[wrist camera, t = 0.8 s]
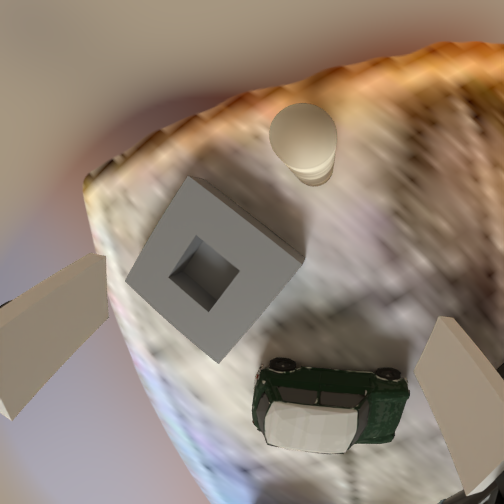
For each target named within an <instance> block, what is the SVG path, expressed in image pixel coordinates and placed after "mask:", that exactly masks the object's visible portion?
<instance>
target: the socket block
mask: <svg viewBox="0 0 504 504" xmlns="http://www.w3.org/2000/svg"><path fill="white" fill-rule="evenodd" d="M304 260H305V257H303V256H302V255H301V254H300V253H298V252H297V251H296V250H295V249H293V248H292V247H291V246H290V245H288V244H287V243H286V242H285V241H283V240H282V239H281V238H279V237H278V236H277V235H276V234H274V233H273V232H272V231H271V230H269V229H268V228H267V227H265V226H264V225H263V224H262V223H260V222H259V221H258V220H256V219H255V218H254V217H253V216H251V215H250V214H249V213H247V212H246V211H245V210H244V209H242V208H241V207H240V206H238V205H237V204H236V203H234V202H233V201H232V200H231V199H229V198H228V197H227V196H225V195H224V194H223V193H221V192H220V191H219V190H217V189H216V188H215V187H213V186H212V185H211V184H209V183H208V182H207V181H205V180H204V179H201V178H197V177H192V176H188V177H187V178H186V180H185V181H184V183H183V184H182V186H181V187H180V189H179V190H178V192H177V193H176V195H175V197H174V198H173V200H172V201H171V203H170V205H169V206H168V208H167V209H166V211H165V213H164V214H163V216H162V217H161V219H160V221H159V222H158V224H157V226H156V227H155V229H154V231H153V232H152V234H151V236H150V237H149V239H148V241H147V242H146V244H145V246H144V248H143V249H142V251H141V253H140V255H139V256H138V258H137V260H136V262H135V263H134V265H133V267H132V269H131V271H130V272H129V274H128V276H127V278H126V280H125V282H126V283H127V284H129V285H130V286H131V287H132V288H133V289H134V290H135V291H136V292H137V293H138V294H139V295H140V296H141V297H142V298H143V299H144V300H145V301H146V302H147V303H148V304H150V305H151V306H152V307H153V308H154V309H155V310H156V311H157V312H158V313H159V314H160V315H161V316H163V317H164V318H165V319H166V320H167V321H168V322H169V323H170V324H172V325H173V326H174V327H175V328H176V329H177V330H178V331H180V332H181V333H182V334H183V335H184V336H185V337H186V338H188V339H189V340H190V341H191V342H192V343H194V344H195V345H196V346H197V347H198V348H199V349H201V350H202V351H203V352H204V353H206V354H207V355H208V356H209V357H210V358H212V359H213V360H214V361H215V362H217V363H218V364H219V363H220V362H221V361H222V359H223V358H224V357H225V356H226V355H227V354H228V353H229V351H230V350H231V349H232V348H233V347H234V346H235V345H236V343H237V342H238V341H239V340H240V339H241V338H242V336H243V335H244V334H245V333H246V332H247V331H248V329H249V328H250V327H251V326H252V325H253V324H254V322H255V321H256V320H257V319H258V318H259V317H260V315H261V314H262V313H263V312H264V311H265V309H266V308H267V307H268V306H269V305H270V303H271V302H272V301H273V300H274V299H275V297H276V296H277V295H278V294H279V293H280V291H281V290H282V289H283V288H284V287H285V285H286V284H287V283H288V282H289V280H290V279H291V278H292V277H293V275H294V274H295V273H296V272H297V271H298V269H299V268H300V267H301V266H302V264H303V262H304Z"/></svg>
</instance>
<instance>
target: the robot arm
mask: <svg viewBox="0 0 504 504" xmlns="http://www.w3.org/2000/svg"><path fill="white" fill-rule="evenodd" d="M108 318H109V316H108V300H107V279H106V256H102V255H98V254H93V253H89V254H87V255H86V256H84V257H82V258H81V259H79V260H77V261H75V262H74V263H72V264H70V265H69V266H67V267H65V268H63V269H62V270H60V271H58V272H57V273H55V274H53V275H52V276H50V277H49V278H47V279H45V280H44V281H42V282H40V283H39V284H37V285H36V286H34V287H32V288H31V289H29V290H28V291H26V292H25V293H23V294H21V295H20V296H18V297H17V298H15V299H14V300H11V301H8V302H6V303H4V304H3V305H1V306H0V413H1V414H3V415H4V416H5V417H7V418H8V419H10V420H11V421H13V419H14V418H15V417H16V416H17V415H18V414H19V412H20V411H21V410H22V409H23V408H24V406H26V404H27V403H28V402H29V401H30V400H31V399H32V398H33V397H34V395H35V394H36V393H37V392H38V391H39V390H40V389H41V388H42V387H43V386H44V384H45V383H46V382H47V381H48V380H49V379H50V378H51V377H52V376H53V375H54V374H55V373H56V371H57V370H58V369H59V368H60V367H61V366H62V365H63V364H64V363H65V362H66V361H67V360H68V359H69V358H70V357H71V356H72V355H73V353H74V352H75V351H76V350H77V349H78V348H79V347H80V346H81V345H82V344H83V343H84V342H85V341H86V340H87V339H88V338H89V337H90V336H91V335H92V334H93V333H94V332H95V331H96V330H97V329H98V328H99V327H100V326H101V325H102V324H103V323H104V322H105V321H106V320H107V319H108ZM413 372H414V374H415V376H416V378H417V380H418V382H419V384H420V386H421V388H422V390H423V392H424V394H425V397H426V399H427V401H428V403H429V405H430V407H431V410H432V412H433V414H434V416H435V419H436V421H437V423H438V425H439V428H440V430H441V432H442V435H443V437H444V439H445V442H446V444H447V447H448V449H449V452H450V454H451V457H452V459H453V462H454V464H455V467H456V469H457V472H458V475H459V477H460V480H461V483H462V486H463V490H462V491H460V492H458V493H456V494H455V495H453V496H451V497H449V498H447V499H443V500H441V501H440V502H439V503H438V504H504V364H503V365H502V366H501V367H500V368H499V369H498V370H497V371H496V370H495V368H494V367H493V366H492V364H491V363H490V362H489V361H488V359H487V358H486V357H485V355H484V354H483V353H482V352H481V351H480V349H479V348H478V347H477V346H476V344H475V343H474V342H473V341H472V340H471V338H470V337H469V336H468V335H467V334H466V332H465V331H464V330H463V329H462V328H461V327H460V325H459V324H458V323H457V322H456V321H455V320H454V318H451V317H443V316H439V317H438V319H437V322H436V324H435V326H434V329H433V331H432V333H431V336H430V338H429V340H428V342H427V344H426V347H425V349H424V351H423V353H422V355H421V357H420V359H419V361H418V363H417V365H416V367H415V369H414V371H413Z"/></svg>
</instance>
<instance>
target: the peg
mask: <svg viewBox="0 0 504 504" xmlns="http://www.w3.org/2000/svg"><path fill="white" fill-rule="evenodd" d="M269 139H270V144H271V146H272V149H273V150H274V152H275V153H276V155H277V156H278V157H279V158H280V159H281V160H282V161H283V162H284V163H285V164H286V166H287V167H288V168H289V169H290V170H291V171H292V172H293V173H294V174H295V175H296V176H297V178H298V179H299V180H300V181H301V182H302V183H304V184H306V185H309V186H320V185H322V184H324V183H326V182H327V181H328V180H329V179H330V177H331V175H332V173H333V166H334V158H335V150H336V142H337V130H336V126H335V124H334V121H333V120H332V118H331V117H330V115H329V114H328V113H327V112H326V111H324V110H323V109H321V108H320V107H318V106H315V105H312V104H307V103H298V104H293V105H290V106H288V107H286V108H284V109H283V110H281V111H280V112H279V113H278V114H277V115H276V116H275V118H274V119H273V121H272V123H271V126H270V131H269Z"/></svg>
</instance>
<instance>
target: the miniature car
mask: <svg viewBox="0 0 504 504" xmlns="http://www.w3.org/2000/svg"><path fill="white" fill-rule="evenodd" d="M262 366H264V365H263V364H262V365H261V367H262ZM261 367H260V368H259V370H258V372H257V374H256V376H255V384H254V396H253V404H252V417H253V421H252V422H253V423H254V425H255V426H256V427H257V428H258V429H257V430H258V431H261V432H262V433H263V435H264V437H265V440H266V443H267V445H271V446H275V447H281V448H284V449H288V450H297V451H305V452H313V453H322V454H344V453H345V452H346V451H347V450H348V449H349V448H350V447H351V446H352V445H353V444H357V443H358V444H382V443H388V442H391V441H392V439H393V438H394V436H395V430H396V428H397V426H398V424H399V422H400V419H401V416H402V413H403V410H404V407H405V403H406V401H407V399H409V396H410V390H408V381H407V378H406V377H405V378H401V379H400V374H401V373H400V372H399V371H398V370H396V369H393V368H378V370H377V373H376V374H374V373H373V372H363V371H347V370H334V369H323V368H313V367H303V366H301V367H299V368H297V369H295V368H296V362H294V361H293V360H291V359H287V358H275V359H273V360H271V361H270V366H269V368H265V369H263V370H261ZM260 370H261V372H260ZM259 373H260V374H259ZM404 379H405V380H404Z"/></svg>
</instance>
